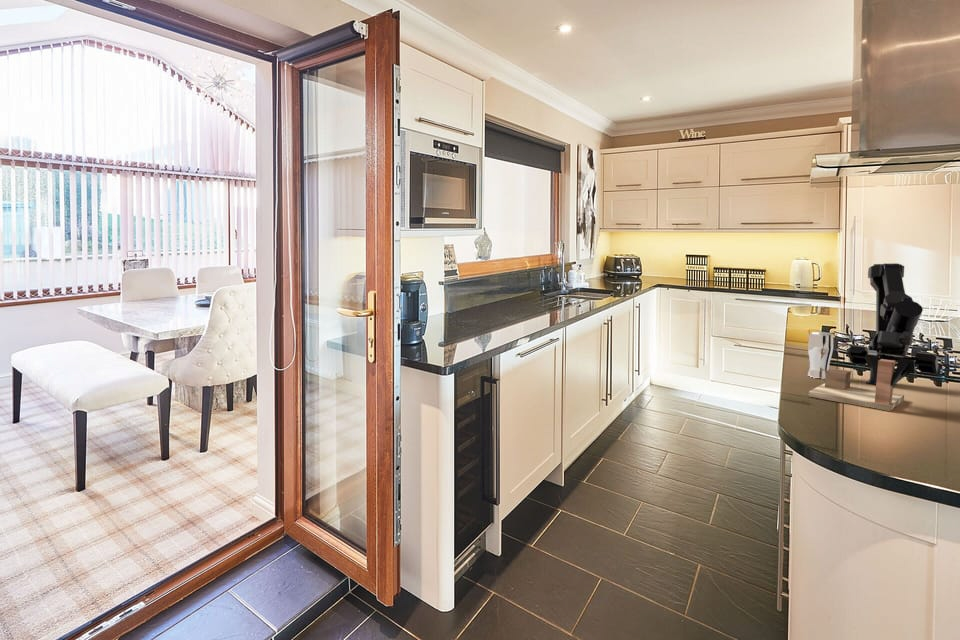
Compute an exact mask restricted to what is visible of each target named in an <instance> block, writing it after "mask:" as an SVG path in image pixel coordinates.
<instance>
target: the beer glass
mask: <svg viewBox="0 0 960 640" xmlns="http://www.w3.org/2000/svg"><path fill="white" fill-rule="evenodd" d="M807 346H808V347H807V352H808V358H809V359H808V360H809V369H808V372H807V377H808V376H810V377H809V378H811V377H813V378H812V379H815V378H821V379H820V380H825V376H826V371H827V370H829V369H830V362H831V360H832V355H833V352H834V333H831V332H828V331H827V332H826V331H825V332H824V331H811V332H809V337H808V344H807Z"/></svg>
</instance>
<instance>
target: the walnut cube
mask: <svg viewBox="0 0 960 640" xmlns="http://www.w3.org/2000/svg"><path fill="white" fill-rule="evenodd" d="M851 376H852V370H846V369H841V368H840V369H839V368H833V367H831V368H829V370H827V371H826V376H825V379H824V383H825V387H827V388H833V389H840V390H846V389H848V388H849V387H850V386H851V378H852V377H851Z"/></svg>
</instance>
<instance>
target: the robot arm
mask: <svg viewBox="0 0 960 640" xmlns="http://www.w3.org/2000/svg"><path fill="white" fill-rule="evenodd" d="M904 276H905V266H904V265H903V264H901V263H893V262H891V263H874V264H873V265H872V266H869V267H868V271H867V278H868V279H869V283H870V286H871V288H873V290H874V291H875V292H876V294H875V296H876V303H875V305H876V306H875V310H876V311H875V317H876V318H875V321H876V323H875V327H876V328H875V335H874V337H873V338H872V340H870V342H869V345H868V346H866V345H865V346H863V345H853V344H852V345H850V346H849V347H848V350H847V354H848V358H849V362H850V363H852V364H853V365H854V364H855V365H862V366H865V365H867V367H868V369H869V368H870V373H869V379H868V380H866V381H865V384H869V385H875V386H876V382H877V369H878V361H879V360H881V359H884V360H893V361H895V371H894V375H893V377H892V379H891V383H890V385H891V386H893V387H894V386H895V385H896V384H898V382H900V381H901V380H902V379H904V378H905V377H908V376H909V375H910V374H915V373H916V368H917V370H918V371H919V372H920V373H924V374H931V375H932V374H933V375H935V374H936V375H937V373H938V370H939V359H938V355H937V354H936V353H931V352H920V351H917V352H916V354H915V356H910V355H908V352H909V350H910V346H912V344H913V341H914V331H915V328H916V327H917V325H918V323H919V320H920V318H921V316H922V313H923V306H922V305H921V304H919V303H918V302H917V301H914V300H913V298H912V297H911V296H910V295H908V294H907V293H906V291H905V285H904V280H903V278H904ZM917 366H918V367H917Z"/></svg>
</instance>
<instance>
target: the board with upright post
mask: <svg viewBox="0 0 960 640" xmlns="http://www.w3.org/2000/svg"><path fill="white" fill-rule="evenodd" d="M895 370H896V367H895V361H893V360H884V359H881V360H879V361H878V369H877V382H876V385H875V389H871V388H864V387H858V386H852V385H850V387H849V388H848V389H846V390H840V389H833V388H827V387H825V382H824V383H823V384H820V385H818V386H817V387H814V388H812V389H811V390H809V391H808V397H810V398H816V399H819V400H820V399H821V400H827V401H830V402H832V401H833V402H838V403H842V404H848V405H853V406H854V405H855V406H859V407H864V408H865V407H866V408H870V407H871V408H870V409H875V408H876V410H882V411H886V412H887V411H888V412H891V411H893V409H895V408H897V406H899V404H901V403H902V402H903V401H904V400H905V394H904V393H903V394H902V393H896V392H894V386H891V385H890V383H891V379H892V377H893V375H894V372H895ZM894 407H895V408H894Z"/></svg>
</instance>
